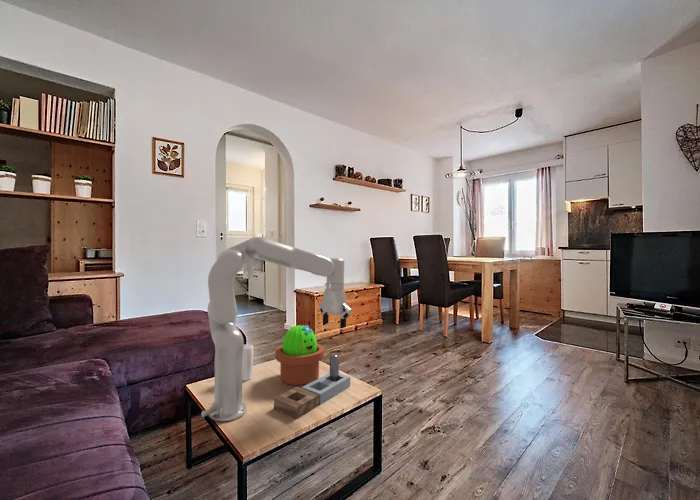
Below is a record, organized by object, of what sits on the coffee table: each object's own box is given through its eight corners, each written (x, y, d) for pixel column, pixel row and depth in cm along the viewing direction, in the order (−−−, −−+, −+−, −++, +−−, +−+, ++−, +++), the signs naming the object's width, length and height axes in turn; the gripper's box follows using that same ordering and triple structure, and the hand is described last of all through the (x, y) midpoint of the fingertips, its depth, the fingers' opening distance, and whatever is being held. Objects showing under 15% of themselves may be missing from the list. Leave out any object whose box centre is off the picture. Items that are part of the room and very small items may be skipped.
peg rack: (320, 404, 125) (320, 394, 124) (301, 396, 130) (301, 387, 130) (350, 386, 141) (350, 377, 141) (332, 380, 147) (332, 371, 147)
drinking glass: (234, 378, 147) (235, 346, 147) (248, 374, 152) (248, 343, 152) (242, 383, 142) (242, 349, 142) (255, 378, 147) (256, 346, 147)
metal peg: (334, 390, 137) (335, 357, 136) (327, 387, 139) (328, 355, 139) (340, 386, 140) (340, 355, 140) (333, 384, 142) (333, 353, 142)
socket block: (296, 418, 114) (296, 407, 114) (273, 408, 121) (273, 398, 121) (318, 405, 124) (318, 395, 124) (296, 396, 131) (296, 386, 131)
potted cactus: (267, 376, 150) (267, 323, 149) (305, 365, 165) (306, 316, 164) (292, 393, 134) (292, 333, 133) (332, 378, 148) (333, 325, 148)
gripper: (314, 285, 141) (313, 324, 141) (346, 289, 131) (344, 331, 131) (325, 284, 147) (324, 321, 147) (356, 287, 137) (355, 327, 137)
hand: (334, 325), depth 139 cm, fingers open, 9 cm apart
